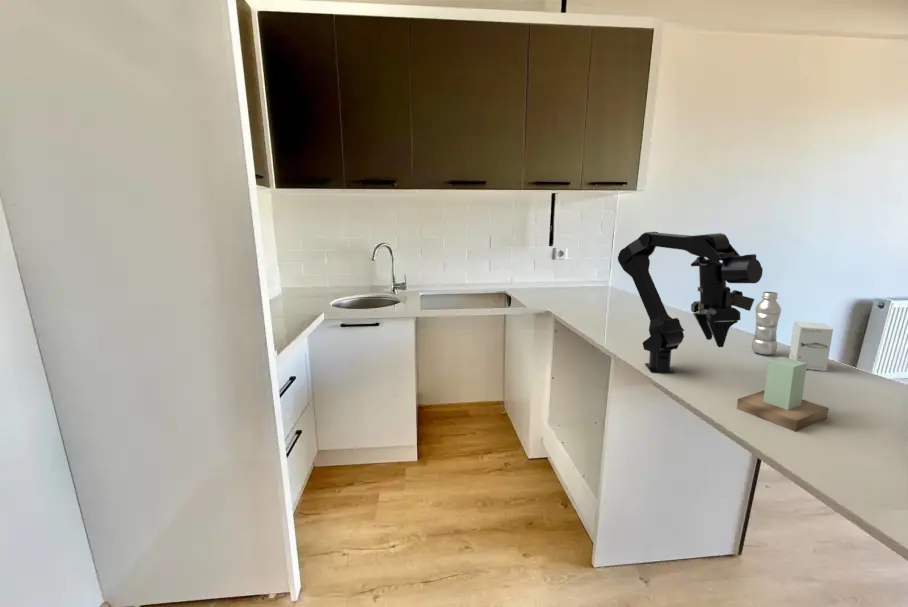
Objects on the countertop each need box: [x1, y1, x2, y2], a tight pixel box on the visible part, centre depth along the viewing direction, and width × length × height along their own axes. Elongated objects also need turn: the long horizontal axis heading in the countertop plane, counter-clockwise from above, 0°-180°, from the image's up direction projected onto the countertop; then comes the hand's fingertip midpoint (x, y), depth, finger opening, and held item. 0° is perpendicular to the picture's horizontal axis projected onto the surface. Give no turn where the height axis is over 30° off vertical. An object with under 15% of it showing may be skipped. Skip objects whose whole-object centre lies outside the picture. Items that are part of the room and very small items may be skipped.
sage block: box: [763, 356, 807, 410], centre depth 92 cm, size 5×5×10 cm
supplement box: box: [788, 320, 834, 372], centre depth 119 cm, size 7×7×13 cm
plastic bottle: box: [751, 291, 782, 356], centre depth 130 cm, size 6×7×20 cm
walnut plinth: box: [736, 389, 829, 432], centre depth 93 cm, size 12×12×2 cm
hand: (714, 343), depth 106 cm, fingers open, 9 cm apart
